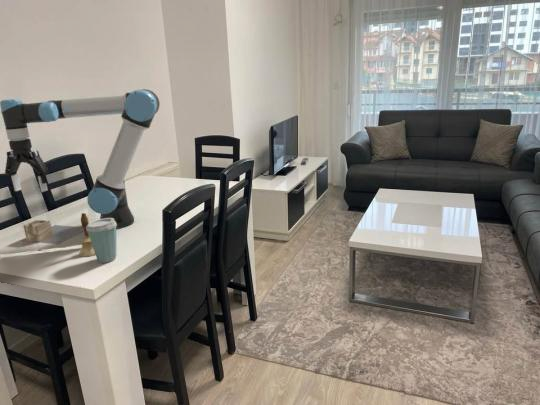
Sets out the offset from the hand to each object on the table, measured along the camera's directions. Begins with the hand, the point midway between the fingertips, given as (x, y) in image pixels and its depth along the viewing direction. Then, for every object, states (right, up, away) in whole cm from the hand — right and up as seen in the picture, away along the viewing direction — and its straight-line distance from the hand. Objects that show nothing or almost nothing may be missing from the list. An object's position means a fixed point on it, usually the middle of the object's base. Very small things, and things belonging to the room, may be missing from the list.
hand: (31, 190), depth 174 cm
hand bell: (+28, -25, -9) cm, 38 cm away
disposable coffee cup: (+37, -26, -16) cm, 48 cm away
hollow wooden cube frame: (+1, -20, +5) cm, 21 cm away
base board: (+6, -20, +9) cm, 23 cm away
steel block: (+1, -21, +5) cm, 22 cm away
